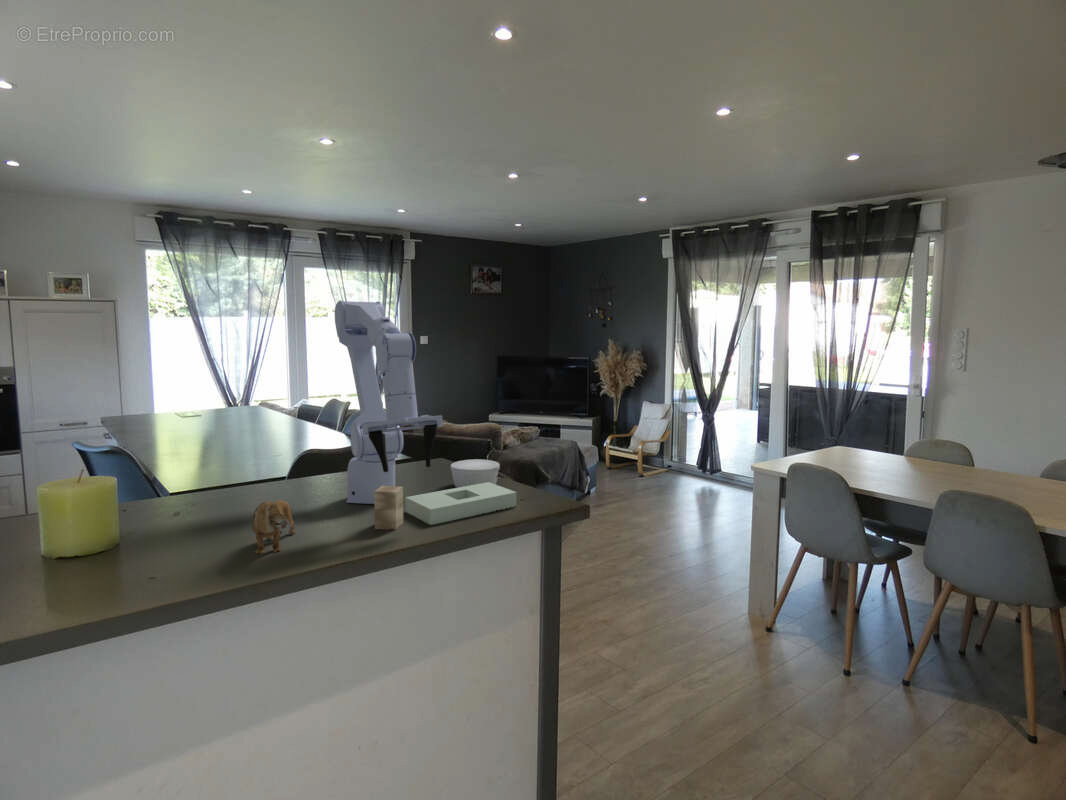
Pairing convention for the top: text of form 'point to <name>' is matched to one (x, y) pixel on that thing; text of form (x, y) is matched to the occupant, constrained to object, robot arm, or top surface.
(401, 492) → the peg
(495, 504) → the socket block
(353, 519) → the top surface
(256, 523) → the orange animal figure
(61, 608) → the top surface
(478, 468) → the ramekin
